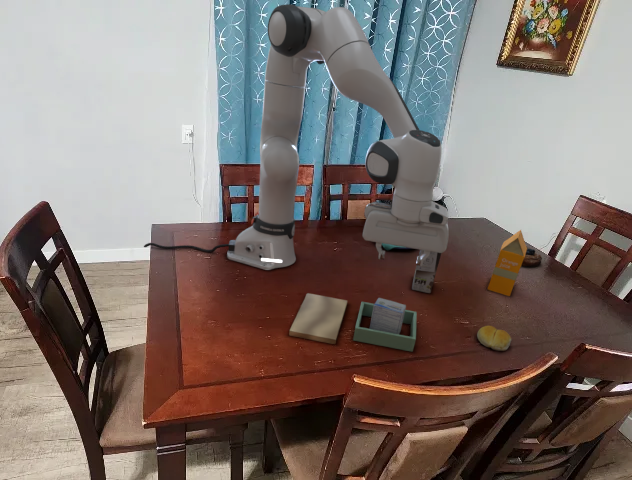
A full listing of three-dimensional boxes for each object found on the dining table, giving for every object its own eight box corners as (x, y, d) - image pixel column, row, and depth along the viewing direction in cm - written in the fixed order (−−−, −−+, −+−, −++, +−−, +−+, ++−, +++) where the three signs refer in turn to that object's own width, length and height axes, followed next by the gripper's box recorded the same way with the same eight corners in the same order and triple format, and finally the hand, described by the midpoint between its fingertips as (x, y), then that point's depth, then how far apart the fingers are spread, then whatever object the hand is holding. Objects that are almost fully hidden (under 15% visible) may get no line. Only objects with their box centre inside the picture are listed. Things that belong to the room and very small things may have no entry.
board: (289, 335, 112) (289, 330, 112) (306, 297, 129) (307, 293, 128) (335, 344, 112) (335, 339, 111) (346, 304, 128) (347, 300, 128)
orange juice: (513, 286, 153) (533, 232, 142) (509, 296, 146) (530, 240, 135) (490, 279, 155) (509, 226, 145) (486, 289, 148) (505, 234, 138)
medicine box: (400, 331, 120) (407, 304, 116) (396, 340, 117) (403, 312, 112) (373, 323, 122) (378, 296, 117) (368, 331, 118) (373, 304, 114)
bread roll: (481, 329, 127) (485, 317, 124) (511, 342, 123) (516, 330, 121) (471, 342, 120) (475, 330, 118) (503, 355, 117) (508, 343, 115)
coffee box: (431, 294, 141) (443, 247, 132) (411, 289, 141) (422, 243, 133) (432, 281, 148) (443, 236, 140) (413, 277, 149) (423, 232, 140)
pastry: (524, 253, 180) (529, 240, 177) (543, 267, 171) (549, 253, 168) (502, 254, 177) (507, 240, 173) (520, 268, 167) (526, 254, 164)
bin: (353, 340, 114) (355, 327, 112) (359, 313, 126) (361, 301, 123) (412, 351, 113) (415, 339, 111) (413, 323, 125) (416, 311, 122)
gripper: (364, 204, 99) (356, 259, 106) (455, 219, 98) (441, 274, 105) (367, 196, 104) (359, 249, 112) (453, 210, 103) (440, 263, 110)
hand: (399, 261), depth 108 cm, fingers open, 8 cm apart
